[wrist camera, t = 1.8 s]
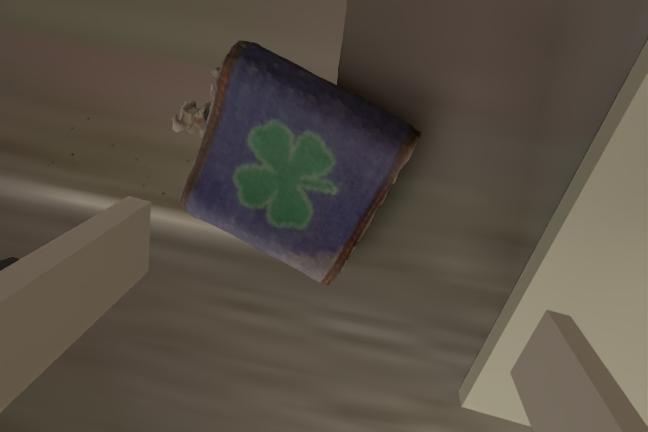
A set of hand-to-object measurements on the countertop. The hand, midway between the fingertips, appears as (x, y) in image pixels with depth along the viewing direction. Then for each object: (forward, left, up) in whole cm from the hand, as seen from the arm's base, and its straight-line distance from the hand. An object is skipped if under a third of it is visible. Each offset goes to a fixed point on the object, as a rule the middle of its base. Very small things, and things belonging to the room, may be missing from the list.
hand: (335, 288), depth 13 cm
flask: (0, +1, -10) cm, 10 cm away
